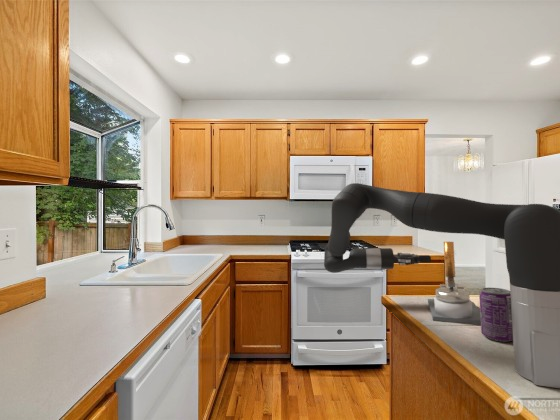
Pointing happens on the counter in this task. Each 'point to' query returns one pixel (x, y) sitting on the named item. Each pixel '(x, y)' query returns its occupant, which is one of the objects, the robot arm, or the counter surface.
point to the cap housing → (454, 312)
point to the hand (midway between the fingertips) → (430, 258)
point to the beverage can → (496, 314)
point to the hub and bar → (451, 280)
